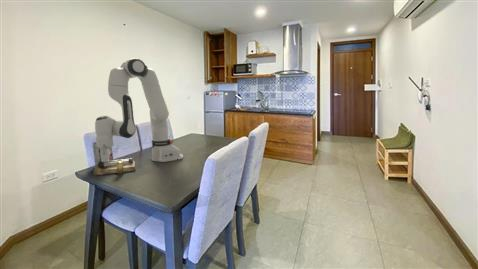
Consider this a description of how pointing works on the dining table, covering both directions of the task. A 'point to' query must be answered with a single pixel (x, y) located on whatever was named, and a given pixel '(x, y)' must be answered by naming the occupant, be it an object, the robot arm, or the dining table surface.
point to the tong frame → (119, 160)
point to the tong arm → (112, 163)
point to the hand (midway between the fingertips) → (106, 165)
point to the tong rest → (113, 169)
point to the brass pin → (120, 168)
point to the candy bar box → (99, 154)
